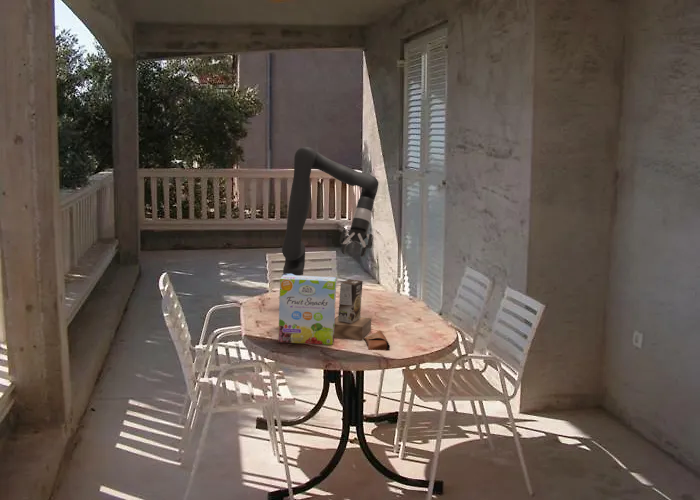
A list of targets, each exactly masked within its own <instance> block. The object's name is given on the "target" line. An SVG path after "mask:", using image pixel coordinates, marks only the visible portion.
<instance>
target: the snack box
mask: <svg viewBox="0 0 700 500" xmlns="http://www.w3.org/2000/svg"><path fill="white" fill-rule="evenodd" d="M336 292H337V277H332V276H331V277H330V276H316V275H303V276H296V275H283V276H282V275H281V277H280V278H279V293H278V294H279V296H278V297H279V298H278V299H279V300H278V301H279V302H278V304H279V305H278V336H277V337H278V341H277V342H278V343H283V344H284V343H287V344H288V343H289V344H307V345H324V346H325V345H326V346H333V345H334V340H335V338H334V324H335V318H336V295H337V294H336Z"/></svg>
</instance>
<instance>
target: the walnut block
mask: <svg viewBox="0 0 700 500" xmlns="http://www.w3.org/2000/svg"><path fill="white" fill-rule="evenodd" d="M370 332H372V317H362V316H360V319H358V320H357V321H355V322H353V323H346V322H341V321H338V315H337V316H335V324H334V339H343V340H344V339H345V340H352V341H353V340H355V341H363V340H364V338H366V337H368V336H369V334H370Z"/></svg>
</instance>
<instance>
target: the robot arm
mask: <svg viewBox="0 0 700 500" xmlns="http://www.w3.org/2000/svg"><path fill="white" fill-rule="evenodd" d="M293 160H294V161H293V164H294V165H293V179H292V184H291V189H290V194H289V201H288V210H287V219H286V220H287V221H286V231H285V234H284V239H283V243H282V246H281V247H282V248H281V253H282V255H283V257H284V259H285V261H284V266H283V269H282V270H283V271H282V274H294V275H296V276H304V269H305V263H306V261H305V260H306V247H305V246H306V245H305V244H304V242H303V241H302V235H303V230H304V227H305V223H306V221H307V218H308V215H309V212H310V204H311V203H310V202H311V184H310V179H311V178H310V177H311V173H312V169H315V170H318V171H321V172H323V173H326V174H327V175H329V176H331V177H332V178H334V179H336V180H338V181H340V182H342V183H343V184H347V185H348V186H351V187H355V186H356V187H360V188H361V191H360V194H359V195H360V196H359V198H358V201H357V203H356V204H357V205H356V208H355V211H354V213H353V218H352V221H351V225H350V230H346V229H343V230H342V232H341V235H340V238H339V243H340V244H341V245H342V247H341V252H342V253H341V254H343V255H345V254H346V251H347V249H348V245H349V244H351V243H352V242H353V243H359V244H360V243H361V245H362V248H361V250H360V251H361V252H360V257H361V258H364V257H365V256H366V254H367V250H369V249H371V248H372V246H373V243H374V241H373V240H374V235H373V234H372V233H368V232H369V231H368V230H369V226H370V223H371V219H372V212H373V209H374V205H375V204H374V203H375V202H374V201H375V199H376V196H377V194H378V193H377V192H378V190H379V180H378V179H377V178H376V177H375V176H374V175H372V174H368V173H365V172H361V171H357V170H355V169H353V168H350V167H348V166H346V165H344V164H341V163H339V162H337V161H334V160H332V159H329V158H328V157H326V156H324V155H323V154H321V153H320V152H318V151H316V150H315V149H314V148H312V147H311V146H301V147H300V148H298V149H297V150H296V151H295V153H294V159H293ZM347 236H348V237H347ZM346 237H347V238H346ZM366 239H367V240H368V241H367V244H366V241H365V240H366Z"/></svg>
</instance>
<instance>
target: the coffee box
mask: <svg viewBox="0 0 700 500" xmlns="http://www.w3.org/2000/svg"><path fill="white" fill-rule="evenodd" d="M362 294H363V280H358V279H350V278H349V279H346V280H345V281H342V282H340V287H339V303H338V305H339V306H338V315H337V316H338V321H341V322H346V323H353V322H355V321H357V320H358V319H360V317H361V313H362V312H361V311H362V309H361V308H362Z"/></svg>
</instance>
